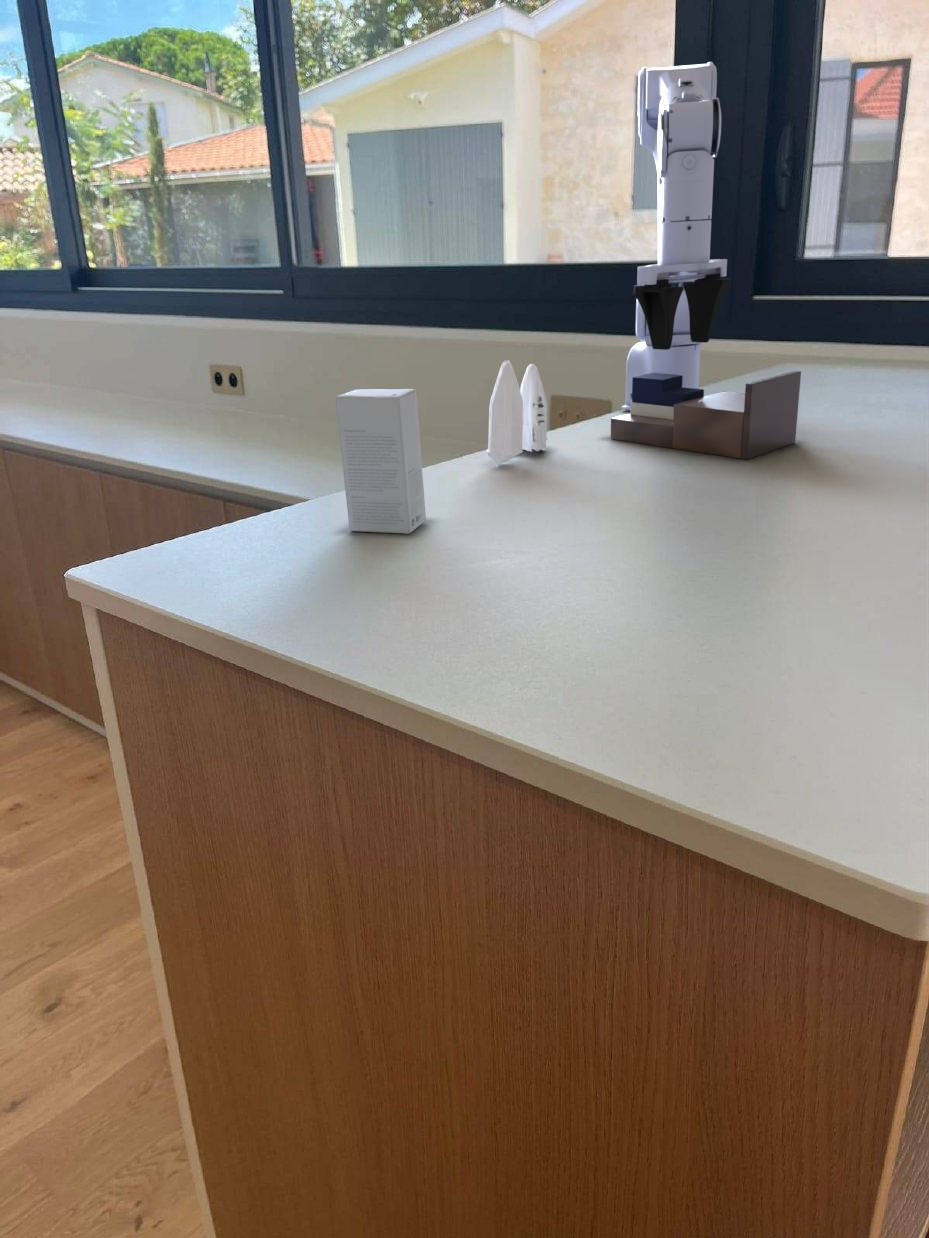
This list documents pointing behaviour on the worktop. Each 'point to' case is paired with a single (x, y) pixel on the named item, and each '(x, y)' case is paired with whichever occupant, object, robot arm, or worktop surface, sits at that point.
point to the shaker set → (516, 414)
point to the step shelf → (724, 421)
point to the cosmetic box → (381, 459)
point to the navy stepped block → (659, 395)
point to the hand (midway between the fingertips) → (680, 345)
